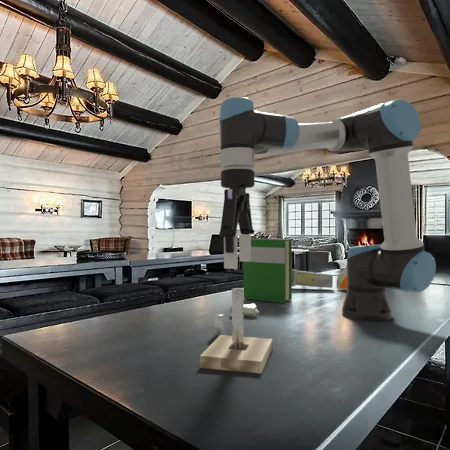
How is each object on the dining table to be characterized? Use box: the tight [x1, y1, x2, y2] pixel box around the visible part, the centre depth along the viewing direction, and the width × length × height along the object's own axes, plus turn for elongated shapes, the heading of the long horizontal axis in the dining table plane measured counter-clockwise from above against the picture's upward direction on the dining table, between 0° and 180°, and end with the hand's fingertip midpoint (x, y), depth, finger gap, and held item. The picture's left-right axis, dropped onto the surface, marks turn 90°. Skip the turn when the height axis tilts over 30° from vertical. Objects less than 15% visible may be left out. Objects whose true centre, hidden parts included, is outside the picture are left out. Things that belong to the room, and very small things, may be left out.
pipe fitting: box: [230, 302, 260, 318], centre depth 123 cm, size 8×4×7 cm
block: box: [292, 268, 334, 289], centre depth 173 cm, size 19×8×8 cm, turn 75°
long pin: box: [231, 287, 245, 350], centre depth 84 cm, size 3×3×16 cm
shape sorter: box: [336, 264, 348, 291], centre depth 172 cm, size 20×10×18 cm, turn 116°
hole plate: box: [199, 334, 274, 374], centre depth 84 cm, size 13×15×3 cm
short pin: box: [213, 313, 226, 339], centre depth 101 cm, size 3×3×6 cm
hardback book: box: [242, 237, 293, 304], centre depth 150 cm, size 18×7×24 cm, turn 60°
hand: (238, 264), depth 84 cm, fingers open, 13 cm apart
